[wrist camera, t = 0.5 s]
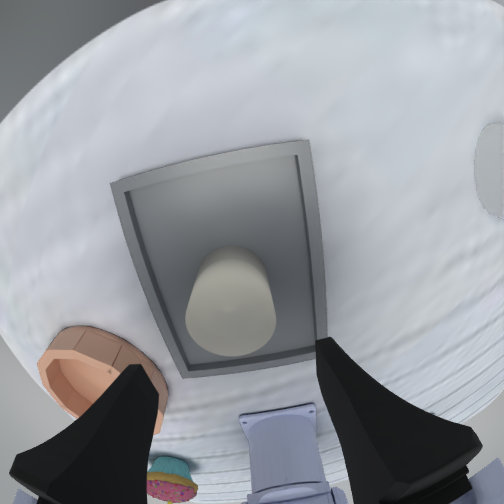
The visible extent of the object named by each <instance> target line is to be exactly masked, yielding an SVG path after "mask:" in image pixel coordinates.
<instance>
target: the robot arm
mask: <svg viewBox="0 0 504 504" xmlns="http://www.w3.org/2000/svg"><path fill="white" fill-rule="evenodd" d="M315 349H316V370H317V378H318V382H319V386H320V389H321V393H322V397H323V399H324V402H325V404H326V407H327V410H328V412H329V415H330V417H331V420H332V422H333V425H334V428H335V430H336V433H337V435H338V438H339V441H340V444H341V447H342V451H343V455H344V459H345V464H346V468H347V472H348V477H349V481H350V486H351V491H352V496H353V502H354V504H504V467H503V465H502V463H501V461H500V460H499V458H496V459H495V460H494V461H492V462H491V463H490V464H488V465H487V466H486V467H484V468H483V469H482V470H480V471H479V472H478V473H476V474H475V475H474V476H472V477H471V478H469V479H468V478H467V476H466V474H467V473H469V470H468V468H467V466H466V465H467V464H468V463H469V462H470V461H471V460H472V459H473V458H474V457H475V456H476V455H477V454H478V453H479V452H480V450H481V449H482V446H483V445H482V443H481V442H480V440H479V438H478V436H477V435H476V433H475V432H474V431H473V429H472V428H471V427H469V426H465V425H461V424H458V423H454V422H451V421H448V420H445V419H443V418H440V417H437V416H435V415H432V414H430V413H428V412H426V411H424V410H422V409H420V408H418V407H416V406H414V405H412V404H410V403H408V402H407V401H405V400H403V399H402V398H400V397H398V396H397V395H395V394H394V393H392V392H391V391H389V390H388V389H387V388H385V387H384V386H382V385H381V384H380V383H379V382H377V381H376V380H375V379H374V378H372V377H371V376H370V375H369V374H368V373H366V372H365V371H364V370H363V369H362V368H361V367H360V366H359V365H358V364H357V363H355V362H354V361H353V360H352V359H351V358H350V357H349V356H348V355H347V354H346V353H345V352H344V351H343V349H342V348H341V347H340V346H339V345H338V344H337V343H336V342H335V341H334V339H333V338H331V337H327V338H323V339H319V340H315ZM158 406H159V393H158V391H157V390H156V388H155V386H154V385H153V383H152V382H151V380H150V378H149V377H148V375H147V373H146V371H145V370H144V368H143V366H142V364H129V365H128V366H127V367H126V368H125V369H124V370H123V371H122V372H121V374H120V375H119V376H118V377H117V378H116V379H115V380H114V381H113V383H112V384H111V385H110V386H109V387H108V388H107V389H106V390H105V392H104V393H103V394H102V395H101V396H100V397H99V398H98V399H97V400H96V401H95V402H94V403H93V404H92V405H91V406H90V407H89V408H88V409H87V410H86V411H85V412H84V413H83V414H82V415H81V416H80V417H79V418H78V419H77V420H75V421H74V422H73V423H72V424H71V425H70V426H68V427H67V428H66V429H64V430H63V431H61V432H60V433H58V434H57V435H55V436H54V437H53V438H51V439H49V440H47V441H46V442H44V443H42V444H40V445H38V446H36V447H34V448H32V449H30V450H27V451H25V452H22V453H20V454H17V455H16V457H15V460H14V462H13V465H12V467H11V470H10V472H9V474H10V476H11V477H12V478H14V479H15V480H16V481H17V482H19V483H20V484H22V485H23V486H25V487H26V488H27V489H29V490H30V491H32V492H33V493H35V494H36V495H38V496H39V498H38V500H37V499H35V498H33V497H32V496H30V495H28V494H26V493H25V492H23V491H22V490H20V489H18V491H17V494H16V496H15V499H14V503H13V504H147V467H148V458H149V452H150V447H151V443H152V438H153V433H154V429H155V424H156V420H157V415H158ZM239 422H240V424H241V426H242V429H243V431H244V433H245V435H246V438H247V440H248V442H249V450H250V468H251V486H252V494H248V495H247V501H248V502H242V503H241V504H348V501H347V498H346V495H345V493H344V491H343V490H342V489H339V488H338V487H333V488H331V491H330V487H329V482H328V481H326V478H325V474H324V469H323V465H322V461H321V457H320V452H319V448H318V444H317V440H316V407H315V405H314V404H309V405H304V406H299V407H294V408H289V409H283V410H278V411H271V412H265V413H258V414H250V415H242V416H240V417H239Z"/></svg>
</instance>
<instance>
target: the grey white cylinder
mask: <svg viewBox="0 0 504 504" xmlns="http://www.w3.org/2000/svg"><path fill="white" fill-rule="evenodd" d="M474 177H475V184H476V190H477V193H478V197H479V200H480V202H481V204H482V205H483V207H484V209H485V210H486V211H487V212H488V213H490V214H493V215H495V216H497V217H500V218H502V219H504V124H497V123H493V124H490V125H487V126H486V127H485V128H484V129H483V131H482V133H481V134H480V136H479V138H478V142H477V146H476V150H475V159H474Z"/></svg>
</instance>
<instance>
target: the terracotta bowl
mask: <svg viewBox="0 0 504 504" xmlns="http://www.w3.org/2000/svg"><path fill="white" fill-rule="evenodd" d="M129 364H142V366H143V368H144V370H145V371H146V373H147V375H148V377H149V378H150V380H151V382H152V383H153V385H154V386H155V388H156V390H157V391H158V393H159V406H158V415H157V420H156V424H155V429H154V433H153V435H155V434H158V433H160V430H161V426H162V421H163V417H164V412H165V408H166V403H167V399H168V388H167V384H166V381H165V379H164V377H163V375H162V374H161V372H160V371H159V369H158V368H157V367H156V366H155V364H154V363H153V362H152V361H151V360H150V359H149V358H148V357H147V356H146V355H144V354H143V353H142V352H141V351H140V350H138V349H137V348H136V347H134V346H133V345H131V344H130V343H128V342H127V341H125V340H123V339H121V338H119V337H118V336H116V335H113V334H111V333H109V332H106V331H104V330H101V329H97V328H93V327H88V326H72V327H68V328H66V329H64V330H62V331H61V332H59V333H58V335H57V336H56V337H55V339H54V340H53V341H52V343H51V344H50V345H49V347H48V348H47V349H46V351H45V352H44V354H43V355H42V357H41V358H40V360H39V361H38V363H37V366H38V370H39V373H40V377H41V380H42V383H43V386H44V387H45V388H46V389H47V391H48V392H49V393H50V394H51V396H52V397H53V398H54V399H55V401H56V402H57V403H58V404H59V405H60V407H61V408H63V409H64V410H65V411H67V412H68V413H69V414H71V415H72V416H74V417H75V418H76V419H78V418H79V417H80V416H81V415H82V414H83V413H84V412H85V411H86V410H87V409H88V408H89V407H90V406H91V405H92V404H93V403H94V402H95V401H96V400H97V399H98V398H99V397H100V396H101V395H102V394H103V393H104V392H105V390H106V389H107V388H108V387H109V386H110V385H111V384H112V383H113V381H114V380H115V379H116V378H117V377H118V376H119V375H120V374H121V372H122V371H123V370H124V369H125V368H126V367H127V366H128V365H129Z"/></svg>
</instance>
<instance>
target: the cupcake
mask: <svg viewBox="0 0 504 504" xmlns="http://www.w3.org/2000/svg"><path fill="white" fill-rule="evenodd" d="M197 490H198V485H197V484H195V483H194V482H193V480H192V478H191V475H190V472H189V469H188V465H187V463H186V462H184V461H182V460H180V459H177V458H173V457H166V456H162V457H158V458H157V459H156V460H155V462H154V464H153V465H152V467H151V468H150V469H149V470H148V472H147V494H148V495H151V496H152V497H153V498H154V497H155V498H157V499H160V500H163V501H168V504H172V502H173V503H180V502H186V501H189V500H190V499H193V498H194V497H195V496H196V494H197Z"/></svg>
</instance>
